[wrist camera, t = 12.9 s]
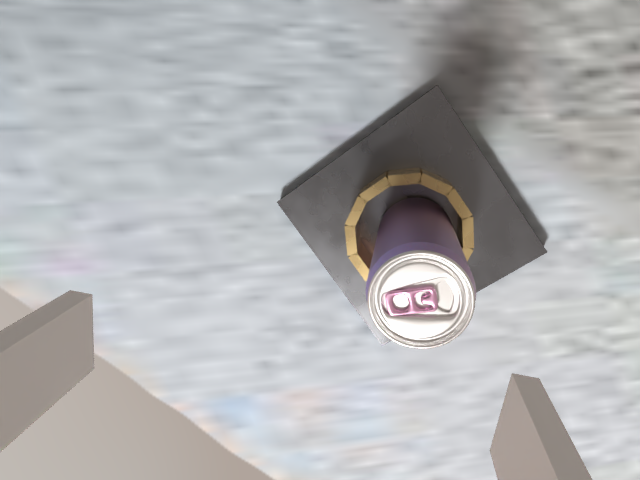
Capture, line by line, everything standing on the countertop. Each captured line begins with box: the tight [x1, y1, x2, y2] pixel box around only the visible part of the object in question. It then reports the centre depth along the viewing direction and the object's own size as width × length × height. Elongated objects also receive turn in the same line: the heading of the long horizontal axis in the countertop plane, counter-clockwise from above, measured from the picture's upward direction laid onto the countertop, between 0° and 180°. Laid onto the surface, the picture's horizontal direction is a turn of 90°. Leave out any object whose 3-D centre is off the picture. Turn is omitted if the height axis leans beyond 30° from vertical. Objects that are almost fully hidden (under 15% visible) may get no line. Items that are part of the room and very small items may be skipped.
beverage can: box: [366, 198, 476, 349], centre depth 32 cm, size 6×6×15 cm
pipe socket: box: [277, 86, 547, 346], centre depth 38 cm, size 16×16×5 cm
